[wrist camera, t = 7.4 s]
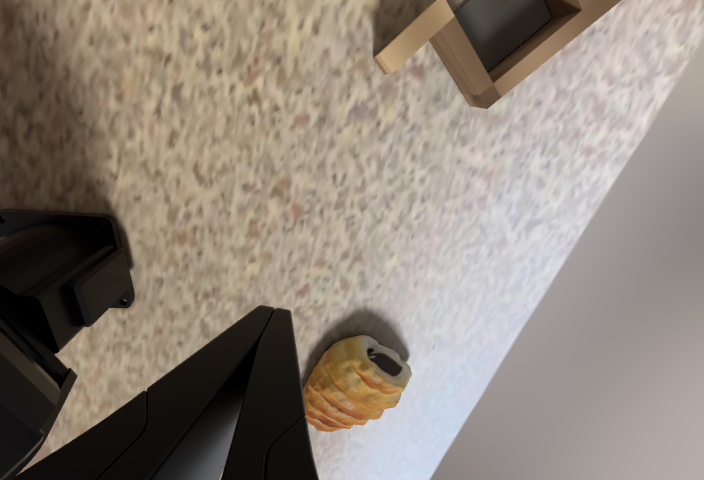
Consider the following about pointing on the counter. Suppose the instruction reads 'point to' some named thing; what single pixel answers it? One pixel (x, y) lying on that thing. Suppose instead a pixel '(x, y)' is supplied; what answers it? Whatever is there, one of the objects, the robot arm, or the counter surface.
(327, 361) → the pastry
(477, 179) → the counter surface
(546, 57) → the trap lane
